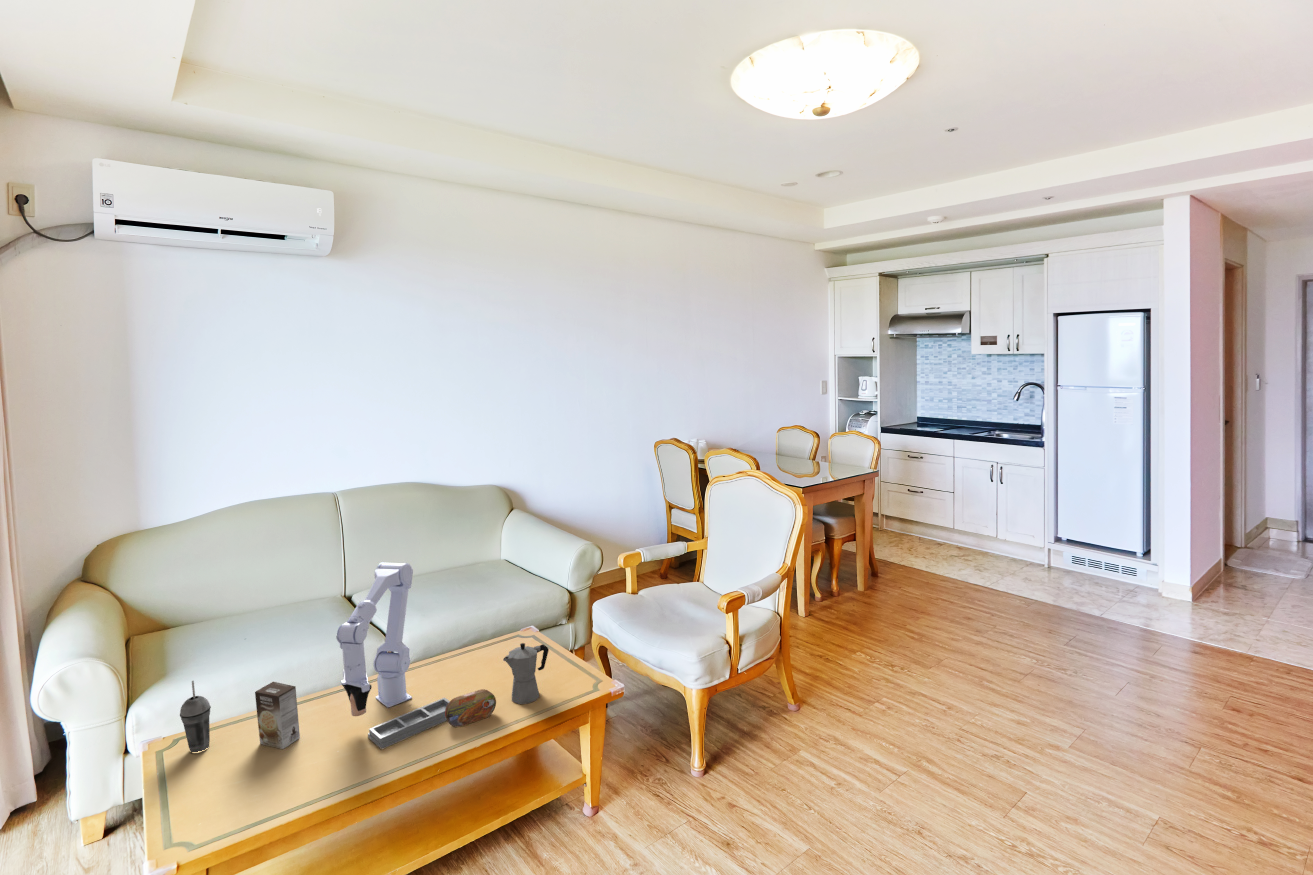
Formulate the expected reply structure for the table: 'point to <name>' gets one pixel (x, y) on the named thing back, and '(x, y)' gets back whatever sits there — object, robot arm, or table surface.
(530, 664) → the coffeepot
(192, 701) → the beverage cup
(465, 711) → the tin
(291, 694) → the coffee box
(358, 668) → the robot arm
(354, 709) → the tan rounded cylinder
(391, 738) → the grey compartment tray
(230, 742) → the table surface
